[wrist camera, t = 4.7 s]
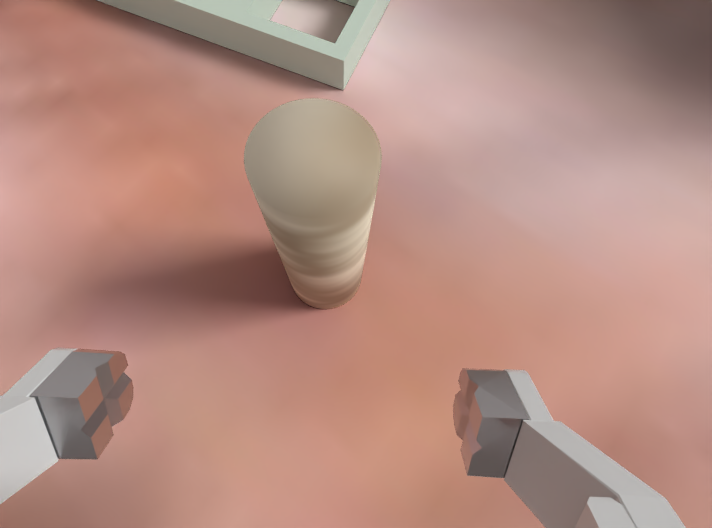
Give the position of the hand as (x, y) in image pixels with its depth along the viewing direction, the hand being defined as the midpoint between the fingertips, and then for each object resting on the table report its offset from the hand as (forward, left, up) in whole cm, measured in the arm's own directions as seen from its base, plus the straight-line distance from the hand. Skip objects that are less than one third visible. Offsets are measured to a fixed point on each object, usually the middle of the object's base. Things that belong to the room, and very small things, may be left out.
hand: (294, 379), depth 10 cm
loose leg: (-2, +6, -12) cm, 14 cm away
